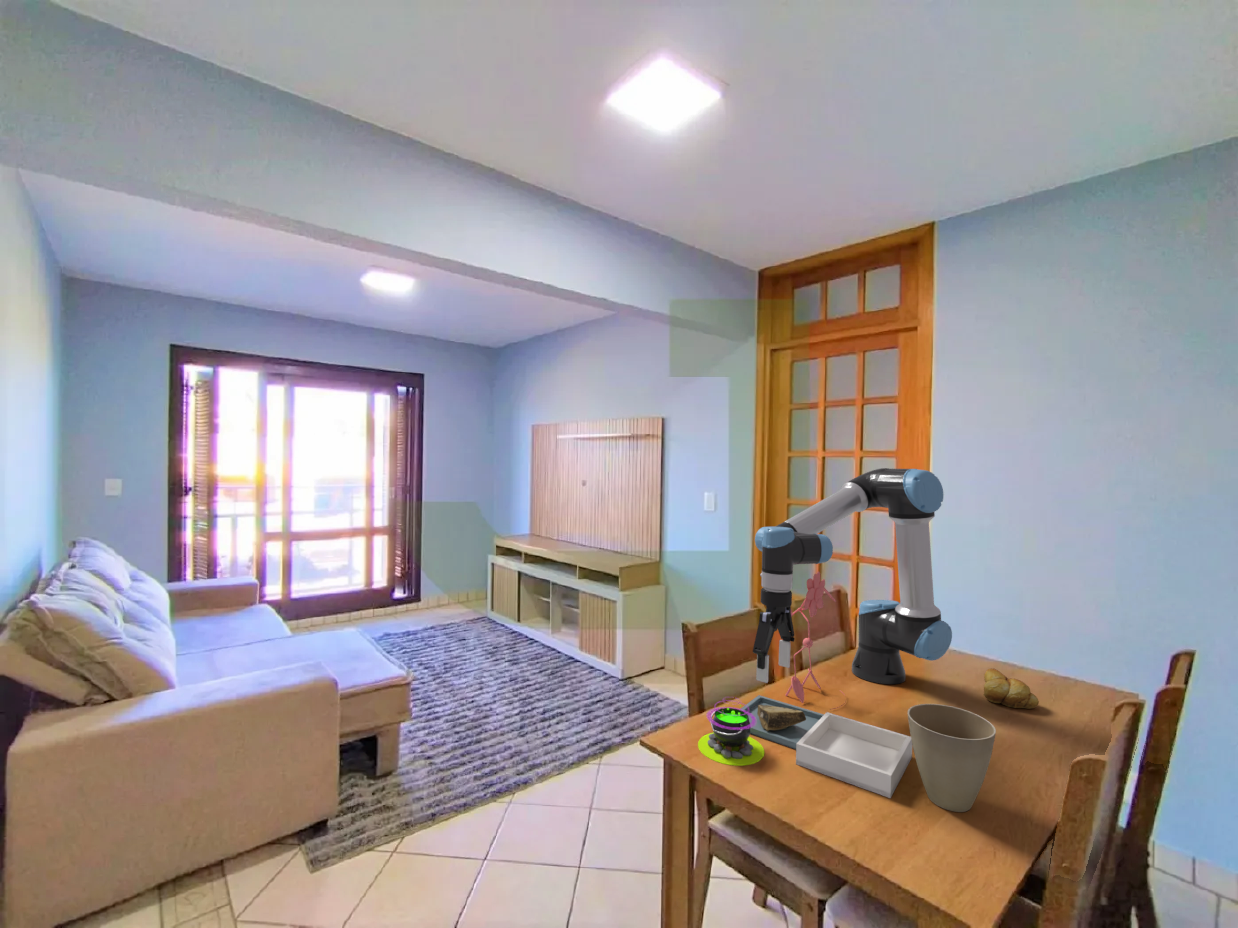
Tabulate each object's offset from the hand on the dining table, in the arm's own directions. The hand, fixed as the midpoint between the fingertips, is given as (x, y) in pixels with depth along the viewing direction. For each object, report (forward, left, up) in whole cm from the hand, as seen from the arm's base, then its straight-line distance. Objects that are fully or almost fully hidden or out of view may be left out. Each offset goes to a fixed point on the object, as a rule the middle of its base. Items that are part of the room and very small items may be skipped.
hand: (773, 673), depth 141 cm
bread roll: (-55, +46, -13) cm, 72 cm away
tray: (-1, +1, -13) cm, 13 cm away
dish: (+5, +21, -13) cm, 25 cm away
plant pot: (+8, +40, -13) cm, 42 cm away
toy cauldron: (+18, -2, -13) cm, 22 cm away
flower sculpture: (-22, +3, -13) cm, 26 cm away
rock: (-1, -2, -14) cm, 14 cm away
